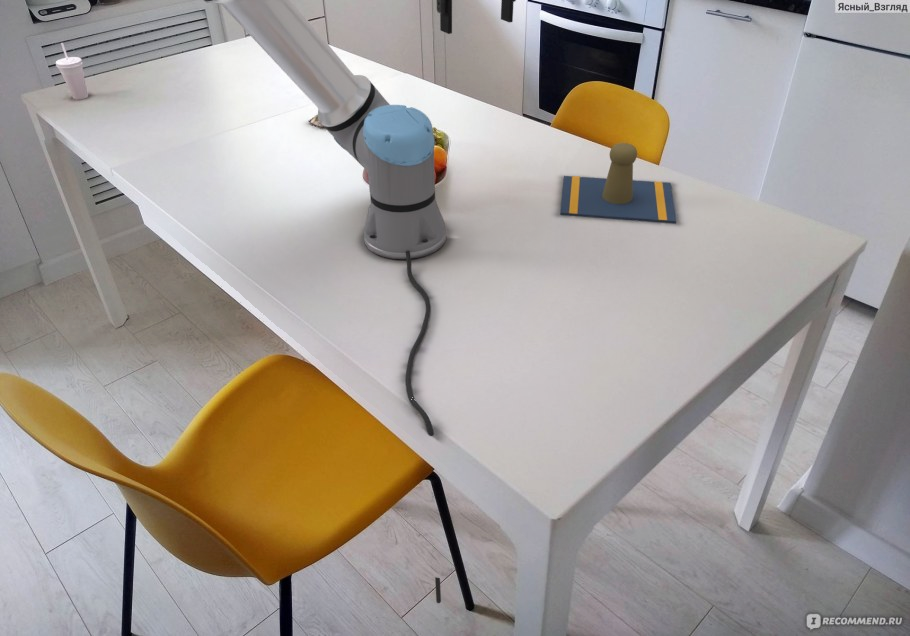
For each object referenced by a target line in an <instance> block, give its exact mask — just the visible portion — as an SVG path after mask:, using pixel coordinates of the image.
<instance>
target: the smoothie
mask: <svg viewBox="0 0 910 636" xmlns="http://www.w3.org/2000/svg"><path fill="white" fill-rule="evenodd" d="M60 45H61V48H62V51H63V54H64V57H62V58H59V59H57V60H56V61H55V66H56V68H58V70H59V72H60V75H61V76H62V78H63V80H64V83H65V84H66V86H67V88H68V90H69V92H70V95H71V97H72V98H73V99H74V100H84V99H86V98H88V97H89V94H88V93H89V92H88V89H87V84H86V80H85V74H84V68H83V60H82V58H81V57H78V56H68V54H67V50H66V47H65V44H64V42H61V43H60Z"/></svg>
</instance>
